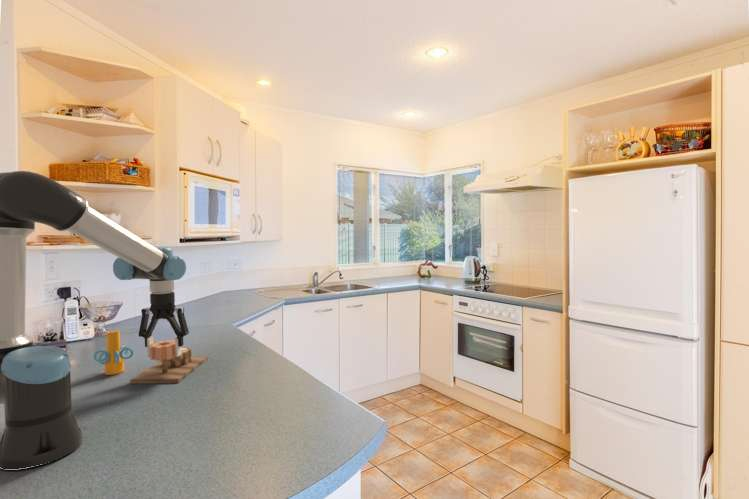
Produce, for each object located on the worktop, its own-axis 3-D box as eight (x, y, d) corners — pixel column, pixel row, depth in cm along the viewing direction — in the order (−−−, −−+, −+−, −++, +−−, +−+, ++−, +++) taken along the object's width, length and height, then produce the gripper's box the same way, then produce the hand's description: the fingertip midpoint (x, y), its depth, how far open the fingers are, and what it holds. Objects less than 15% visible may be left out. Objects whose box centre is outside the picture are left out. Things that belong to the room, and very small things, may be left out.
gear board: (178, 382, 132) (178, 361, 132) (130, 383, 132) (129, 362, 131) (207, 359, 156) (206, 341, 156) (166, 360, 156) (165, 342, 155)
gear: (171, 360, 134) (170, 347, 134) (144, 360, 134) (144, 347, 134) (183, 352, 143) (182, 339, 143) (158, 352, 143) (158, 340, 143)
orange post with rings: (112, 379, 136) (110, 336, 135) (87, 377, 138) (85, 335, 137) (140, 367, 147) (138, 327, 147) (116, 365, 150) (115, 326, 149)
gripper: (198, 290, 142) (200, 351, 143) (137, 290, 141) (139, 352, 142) (188, 293, 134) (191, 358, 135) (124, 294, 134) (127, 359, 135)
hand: (164, 355), depth 139 cm, fingers closed on gear, 9 cm apart
